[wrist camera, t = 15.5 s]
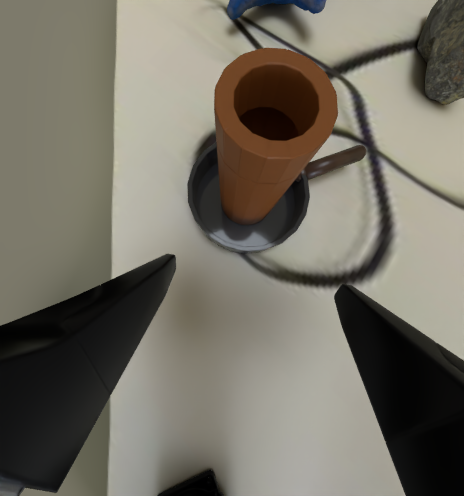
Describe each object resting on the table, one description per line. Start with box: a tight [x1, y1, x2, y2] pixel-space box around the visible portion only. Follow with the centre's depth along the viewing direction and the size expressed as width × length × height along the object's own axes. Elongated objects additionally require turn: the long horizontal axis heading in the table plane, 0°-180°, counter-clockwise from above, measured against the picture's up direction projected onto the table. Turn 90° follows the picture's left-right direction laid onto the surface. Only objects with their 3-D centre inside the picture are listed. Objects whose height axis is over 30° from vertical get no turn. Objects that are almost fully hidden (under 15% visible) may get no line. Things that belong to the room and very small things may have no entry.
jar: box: [214, 48, 338, 225], centre depth 15 cm, size 6×6×13 cm
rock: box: [418, 0, 464, 105], centre depth 23 cm, size 17×7×10 cm
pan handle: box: [295, 145, 366, 182], centre depth 20 cm, size 9×2×2 cm, turn 111°
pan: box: [188, 142, 310, 253], centre depth 20 cm, size 14×14×4 cm
